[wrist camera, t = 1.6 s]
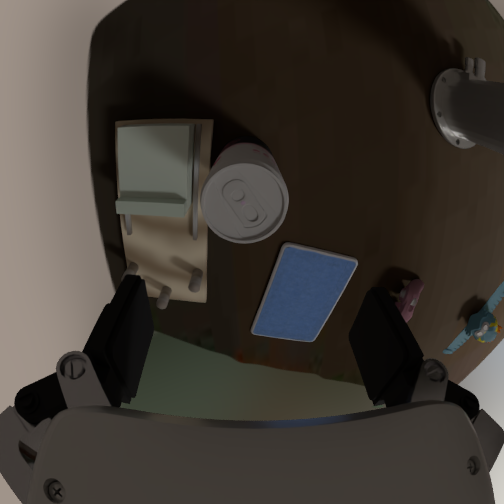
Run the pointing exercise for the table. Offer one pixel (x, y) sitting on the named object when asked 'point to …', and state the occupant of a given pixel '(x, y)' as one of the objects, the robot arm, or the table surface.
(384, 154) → the table surface
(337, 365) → the table surface
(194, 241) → the base board
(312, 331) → the tablet computer
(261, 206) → the beverage can
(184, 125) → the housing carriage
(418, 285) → the video game controller
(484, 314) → the owl figurine
